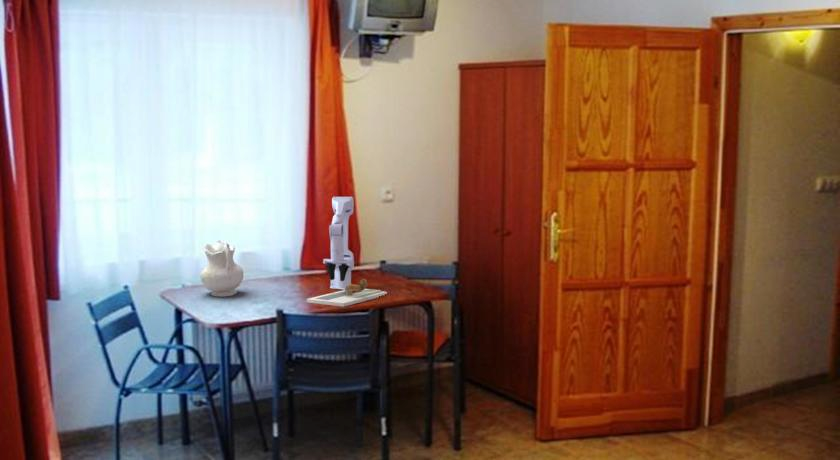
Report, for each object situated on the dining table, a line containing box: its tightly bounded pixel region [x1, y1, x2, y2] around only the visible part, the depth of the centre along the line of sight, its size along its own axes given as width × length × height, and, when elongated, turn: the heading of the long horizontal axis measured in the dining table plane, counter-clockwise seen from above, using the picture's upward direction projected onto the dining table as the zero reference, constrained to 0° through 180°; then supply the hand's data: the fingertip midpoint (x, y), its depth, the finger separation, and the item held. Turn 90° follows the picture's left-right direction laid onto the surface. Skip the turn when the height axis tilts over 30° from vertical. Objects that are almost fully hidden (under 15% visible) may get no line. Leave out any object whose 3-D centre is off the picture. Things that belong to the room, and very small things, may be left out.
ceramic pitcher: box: [200, 240, 244, 297], centre depth 370 cm, size 22×20×25 cm
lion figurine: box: [344, 278, 368, 295], centre depth 371 cm, size 12×4×7 cm, turn 116°
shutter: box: [345, 288, 382, 298], centre depth 365 cm, size 6×20×3 cm, turn 149°
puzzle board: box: [306, 288, 388, 308], centre depth 364 cm, size 20×36×2 cm, turn 149°
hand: (337, 280), depth 362 cm, fingers open, 5 cm apart
